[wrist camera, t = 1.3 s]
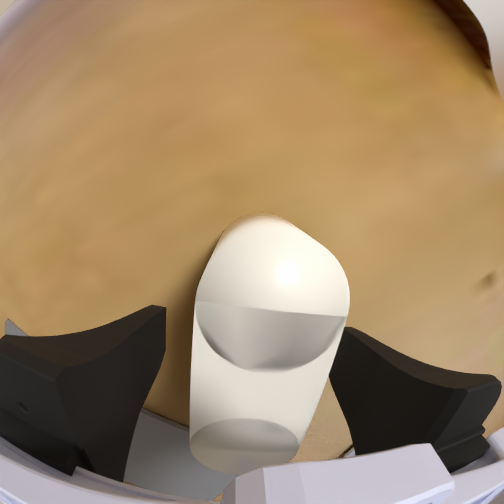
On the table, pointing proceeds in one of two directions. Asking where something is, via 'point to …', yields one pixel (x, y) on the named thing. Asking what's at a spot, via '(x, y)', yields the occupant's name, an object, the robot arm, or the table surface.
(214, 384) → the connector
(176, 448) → the mat
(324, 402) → the table surface
